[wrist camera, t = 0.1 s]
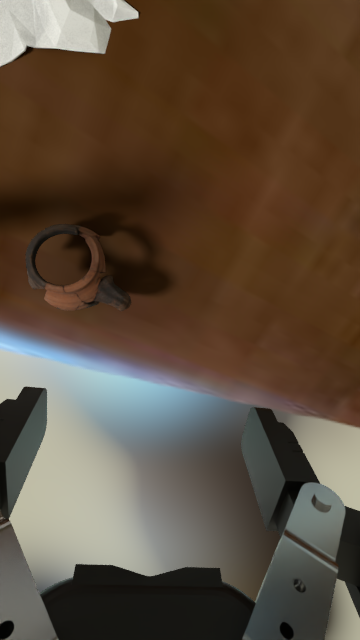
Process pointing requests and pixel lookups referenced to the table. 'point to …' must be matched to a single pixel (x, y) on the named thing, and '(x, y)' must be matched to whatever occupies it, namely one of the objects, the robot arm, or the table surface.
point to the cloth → (58, 25)
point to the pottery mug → (83, 290)
